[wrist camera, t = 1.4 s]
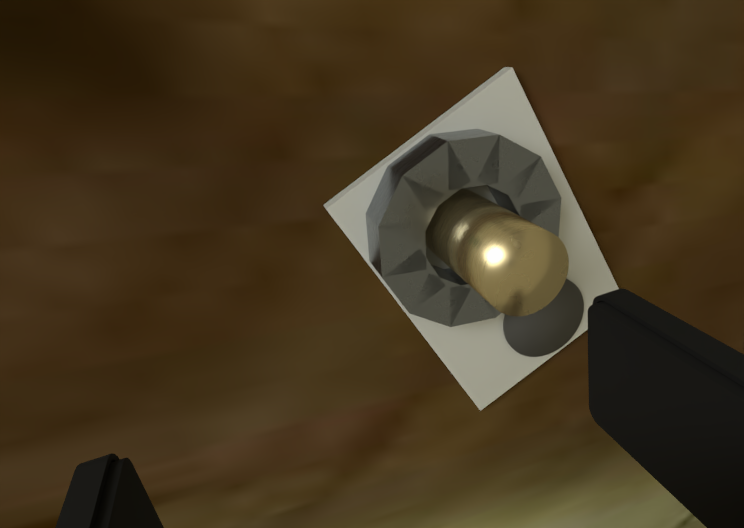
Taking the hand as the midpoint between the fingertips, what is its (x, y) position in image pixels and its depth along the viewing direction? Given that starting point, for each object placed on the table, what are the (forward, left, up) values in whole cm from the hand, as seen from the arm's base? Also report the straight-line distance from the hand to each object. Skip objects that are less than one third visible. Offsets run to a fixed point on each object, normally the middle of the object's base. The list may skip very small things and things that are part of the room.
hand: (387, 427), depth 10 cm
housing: (-8, +10, -24) cm, 27 cm away
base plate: (-9, +15, -25) cm, 30 cm away
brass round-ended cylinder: (-8, +10, -24) cm, 27 cm away
